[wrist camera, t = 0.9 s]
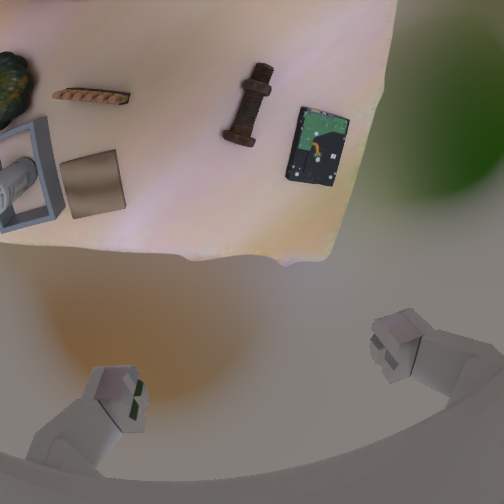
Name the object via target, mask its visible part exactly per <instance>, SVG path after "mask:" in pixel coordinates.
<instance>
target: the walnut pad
mask: <svg viewBox="0 0 504 504" xmlns="http://www.w3.org/2000/svg"><path fill="white" fill-rule="evenodd" d="M59 166H60V171H61V175H62V179H63V184H64V188H65V192H66V195H67V199H68V203H69V206H70V210H71V213H72V217H73V219H77V218H82V217H86V216H91V215H96V214H101V213H106V212H111V211H116V210H121V209H125V208H126V203H125V198H124V193H123V188H122V183H121V178H120V172H119V167H118V161H117V155H116V150H111V151H107V152H103V153H98V154H94V155H90V156H86V157H82V158H78V159H74V160H71V161H67V162H63V163H61V164H60V165H59Z"/></svg>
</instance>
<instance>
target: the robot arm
mask: <svg viewBox="0 0 504 504" xmlns="http://www.w3.org/2000/svg"><path fill="white" fill-rule="evenodd" d="M372 331H373V332H374V333H375V334H374V335H373V336H372V338H371V339H370V351H371V355H372V358H373V360H374V361H375V363H376V364H379V365H381V366H383V368H382V373H383V374H384V375H385V377H386V379H387V380H388V381H389V383H390V384H391V383H394V382H397V381H400V380H402V379H405V378H407V377H410V376H411V378H413V379H415V380H416V381H418V382H420V383H422V384H424V385H426V386H428V387H430V388H432V389H434V390H436V391H438V392H440V393H442V394H444V395H446V396H448V397H450V398H449V400H448V402H447V404H446V406H445V409H443V410H441V411H440V412H438V413H436V414H434V415H432V416H430V417H429V418H427V419H425V420H423V421H421V422H419V423H417V424H415V425H413V426H411V427H409V428H406V429H404V430H402V431H400V432H398V433H395V434H393V435H391V436H388V437H386V438H384V439H381V440H379V441H376V442H374V443H372V444H369V445H366V446H363V447H361V448H358V449H355V450H352V451H349V452H346V453H343V454H340V455H337V456H334V457H331V458H327V459H324V460H320V461H317V462H313V463H310V464H306V465H301V466H297V467H293V468H288V469H283V470H279V471H274V472H268V473H263V474H256V475H250V476H243V477H236V478H226V479H217V480H216V479H215V480H201V481H140V480H125V479H116V478H107V477H105V476H104V475H103V474H102V473H100V472H99V471H98V470H97V469H96V467H97V465H98V464H99V463H100V462H101V461H102V459H103V458H104V457H105V456H106V454H107V453H108V452H109V451H110V449H111V448H112V446H113V445H114V444H115V443H116V442H117V440H118V439H119V438H120V436H121V435H122V433H142V432H144V430H145V424H146V416H145V414H144V413H143V412H144V411H145V410H146V409H147V408H148V404H149V396H148V391H147V388H146V386H145V384H144V382H142V381H141V380H139V379H138V375H139V372H138V371H137V369H136V367H135V366H133V365H126V366H104V367H95V368H93V369H92V372H91V374H90V377H89V379H88V381H87V384H86V386H85V389H84V391H83V394H82V396H81V399H76V400H75V401H74V402H73V403H72V404H70V405H69V406H68V407H67V408H65V409H64V410H63V411H62V412H61V413H59V414H58V415H57V416H56V417H54V418H53V419H52V420H51V421H50V422H48V423H47V424H46V425H45V426H44V427H42V428H41V429H40V430H39V431H37V432H36V433H35V435H34V437H33V440H32V442H31V445H30V448H29V450H28V453H27V456H26V458H25V460H24V459H21V458H18V457H15V456H12V455H9V454H6V453H4V452H1V451H0V504H504V355H503V354H502V353H500V352H499V351H498V350H497V349H496V348H495V347H494V346H493V345H492V344H488V343H485V342H481V341H478V340H474V339H471V338H467V337H464V336H460V335H456V334H453V333H450V332H446V331H442V330H437V331H436V330H435V329H434V328H433V327H432V326H431V325H430V324H429V323H427V322H426V321H425V320H424V319H423V318H422V317H421V316H420V315H419V314H418V313H417V312H416V311H414V309H412V308H407V309H404V310H402V311H399V312H397V313H394V314H391V315H388V316H384V317H382V318H378V319H375V320H374V321H373V323H372Z"/></svg>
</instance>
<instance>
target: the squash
mask: <svg viewBox="0 0 504 504" xmlns="http://www.w3.org/2000/svg"><path fill="white" fill-rule="evenodd" d="M27 67H28V66H27V62H26V60H25V59H24V58H23V57H22V56H18V55H15V54H13V53H12V52H2V53H0V130H2V129H4V128H5V127H7V126H8V125H9V124H10V122H11V120H12V119H13V118H15V117H17V116H19V115H20V114H22V113H23V112H24V111H25V110H26V109H27V107H28V97H27V94H28V93H29V92H30V91H31V89H32V87H33V78H32V75H31V74H30V73H29V72H28V70H27Z"/></svg>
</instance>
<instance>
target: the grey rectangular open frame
mask: <svg viewBox="0 0 504 504" xmlns="http://www.w3.org/2000/svg"><path fill="white" fill-rule="evenodd" d="M26 129H29V130H30V137H31V142H32V148H33V153H34V158H35V162H36V167H37V171H38V175H39V179H40V183H41V187H42V191H43V195H44V198H45V202H46V205H47V206H44V207H41V208H37V209H33V210H30V211H26V212H23V213H20V214H16V215H15V212H14V209H13V206H12V204H11V205H10V206H9V207H8V208H7V209H6V210H5V211H4V212H3V213H1V214H0V231H1V234H3V233H6V232H10V231H13V230H17V229H21V228H24V227H28V226H32V225H36V224H40V223H44V222H48V221H52V220H56V218H57V217H58V216H59V214H60V213H61V212H62V210H63V209H64V207H65V202H64V198H63V195H62V191H61V187H60V183H59V179H58V174H57V170H56V166H55V161H54V156H53V151H52V146H51V140H50V134H49V128H48V121H47V117H44V118H40V119H37V120H34V121H31V122H29V123H26V124H24V125H21V126H19V127H17V128H14V129H12V130H9V131H7V132H5V133H3V134H1V135H0V140H2V139H5V138H7V137H9V136H12V135H14V134H16V133H19V132H21V131H24V130H26ZM1 170H2V166H1V161H0V171H1Z"/></svg>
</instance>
